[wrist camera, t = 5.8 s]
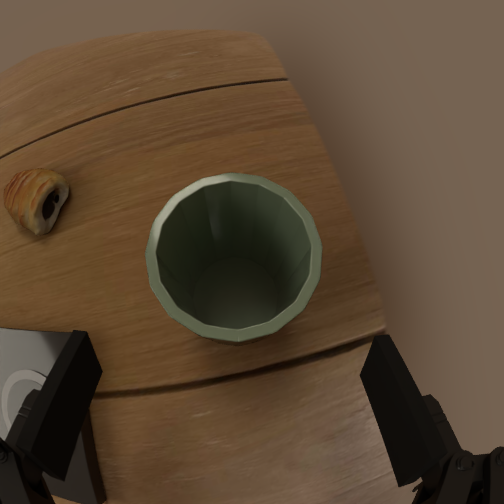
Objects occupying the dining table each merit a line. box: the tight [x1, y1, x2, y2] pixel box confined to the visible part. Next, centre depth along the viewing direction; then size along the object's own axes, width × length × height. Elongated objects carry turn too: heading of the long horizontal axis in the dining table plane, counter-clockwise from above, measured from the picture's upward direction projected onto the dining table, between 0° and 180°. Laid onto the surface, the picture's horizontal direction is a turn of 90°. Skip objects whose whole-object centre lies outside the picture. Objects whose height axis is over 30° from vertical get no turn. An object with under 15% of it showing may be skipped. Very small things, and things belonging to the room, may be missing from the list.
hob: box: [0, 327, 106, 504], centre depth 18 cm, size 20×16×2 cm
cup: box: [145, 172, 322, 346], centre depth 18 cm, size 7×7×12 cm
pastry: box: [4, 168, 69, 235], centre depth 24 cm, size 9×7×4 cm
